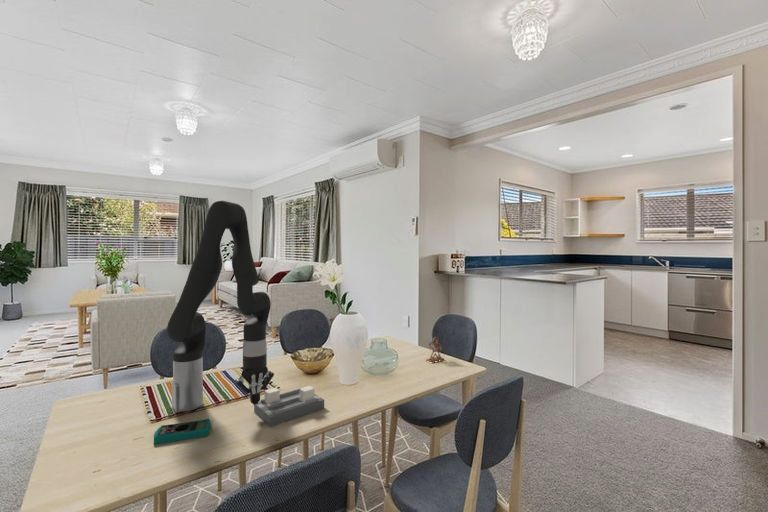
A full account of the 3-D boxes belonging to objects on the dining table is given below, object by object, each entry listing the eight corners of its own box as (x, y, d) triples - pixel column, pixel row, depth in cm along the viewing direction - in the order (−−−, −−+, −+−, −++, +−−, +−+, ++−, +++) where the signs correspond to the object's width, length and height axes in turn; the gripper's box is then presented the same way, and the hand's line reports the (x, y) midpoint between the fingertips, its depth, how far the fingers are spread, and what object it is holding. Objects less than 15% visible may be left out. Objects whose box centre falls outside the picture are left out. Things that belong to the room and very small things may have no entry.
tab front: (304, 403, 123) (304, 391, 123) (299, 399, 125) (299, 388, 125) (314, 399, 126) (314, 388, 125) (309, 396, 128) (309, 385, 128)
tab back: (268, 405, 121) (268, 393, 121) (264, 401, 124) (264, 390, 123) (279, 401, 124) (279, 390, 124) (275, 398, 126) (275, 387, 126)
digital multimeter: (158, 433, 109) (157, 424, 109) (211, 426, 114) (211, 417, 114) (151, 447, 102) (151, 436, 102) (208, 438, 107) (208, 428, 107)
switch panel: (270, 426, 113) (270, 414, 113) (254, 412, 123) (254, 400, 123) (324, 408, 126) (324, 397, 126) (306, 396, 136) (306, 385, 136)
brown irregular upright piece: (439, 358, 183) (439, 335, 183) (444, 360, 180) (445, 336, 179) (425, 361, 178) (426, 337, 178) (430, 363, 175) (431, 339, 175)
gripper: (269, 346, 126) (269, 394, 127) (230, 353, 117) (230, 405, 118) (278, 351, 120) (278, 401, 121) (238, 359, 112) (238, 413, 112)
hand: (255, 403), depth 120 cm, fingers closed
